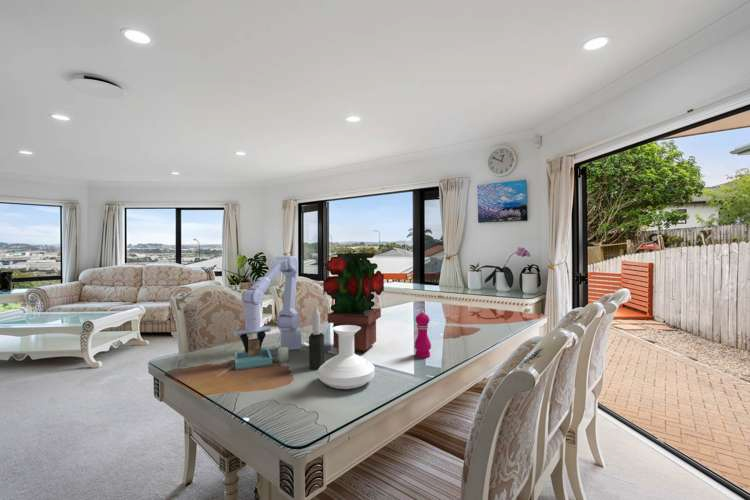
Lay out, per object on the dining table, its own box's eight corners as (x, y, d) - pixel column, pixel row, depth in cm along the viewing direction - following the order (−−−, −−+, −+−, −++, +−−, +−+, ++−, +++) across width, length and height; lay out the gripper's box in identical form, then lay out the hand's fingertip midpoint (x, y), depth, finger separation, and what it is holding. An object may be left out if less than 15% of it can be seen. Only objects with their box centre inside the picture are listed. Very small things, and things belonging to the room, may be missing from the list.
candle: (320, 369, 137) (319, 306, 137) (308, 369, 138) (307, 305, 138) (325, 365, 142) (324, 304, 142) (313, 364, 143) (312, 303, 143)
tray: (268, 355, 156) (268, 348, 156) (272, 365, 143) (272, 357, 143) (234, 359, 151) (234, 352, 150) (235, 370, 138) (235, 362, 138)
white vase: (346, 368, 138) (345, 320, 138) (386, 380, 125) (385, 326, 125) (306, 384, 123) (305, 329, 123) (347, 399, 110) (346, 338, 110)
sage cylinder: (287, 357, 153) (287, 346, 152) (289, 360, 148) (289, 349, 148) (277, 359, 151) (276, 347, 151) (278, 362, 147) (278, 350, 147)
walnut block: (256, 352, 150) (256, 338, 150) (259, 354, 146) (259, 340, 146) (245, 354, 148) (245, 339, 147) (248, 356, 144) (248, 342, 144)
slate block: (274, 352, 161) (274, 346, 161) (275, 355, 157) (275, 348, 157) (265, 353, 159) (265, 347, 159) (266, 356, 156) (265, 349, 156)
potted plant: (324, 353, 158) (323, 254, 158) (342, 340, 180) (341, 253, 179) (370, 357, 152) (369, 253, 152) (384, 343, 173) (383, 252, 173)
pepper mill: (430, 353, 157) (430, 308, 157) (431, 358, 150) (431, 311, 149) (414, 353, 157) (414, 308, 157) (414, 358, 150) (414, 311, 150)
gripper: (266, 315, 154) (267, 345, 154) (232, 319, 146) (232, 351, 146) (272, 317, 148) (272, 349, 148) (236, 322, 140) (236, 355, 140)
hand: (252, 351), depth 147 cm, fingers closed on walnut block, 4 cm apart
